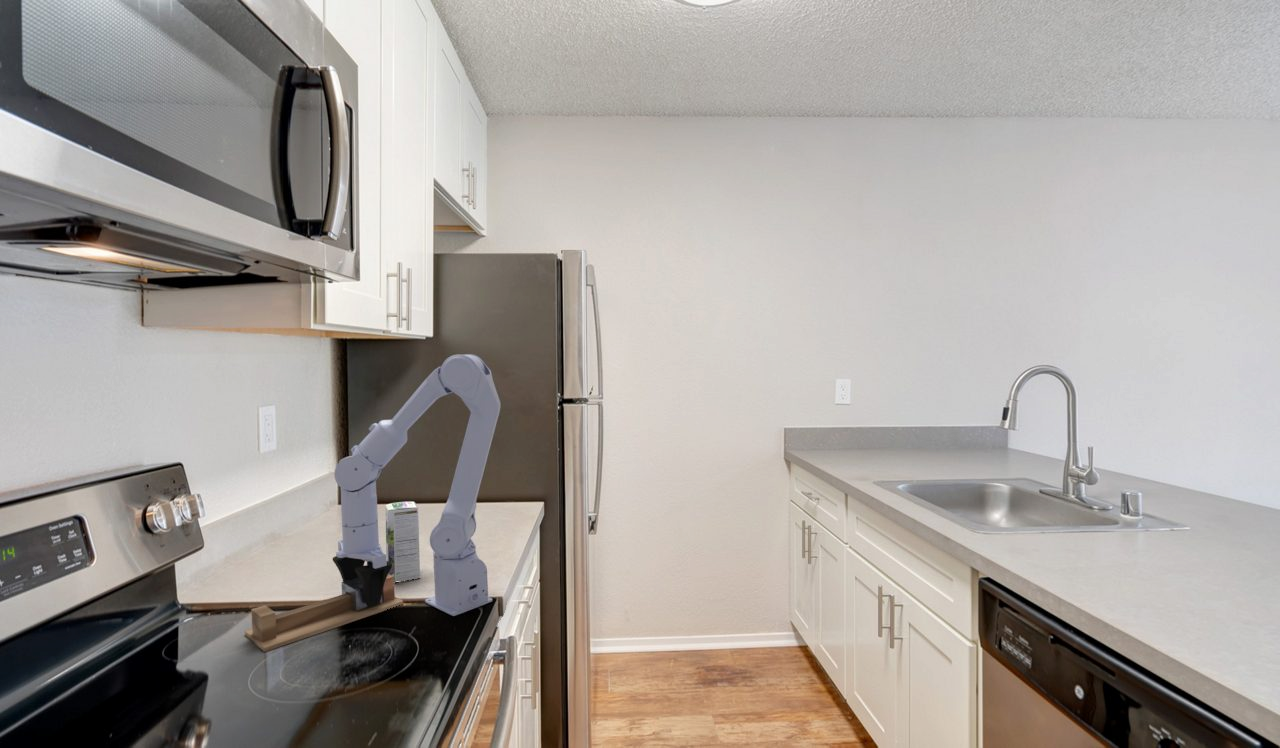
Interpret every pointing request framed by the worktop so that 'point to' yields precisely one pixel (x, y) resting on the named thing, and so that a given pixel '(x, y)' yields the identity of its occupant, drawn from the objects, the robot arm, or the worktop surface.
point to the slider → (355, 593)
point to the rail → (312, 618)
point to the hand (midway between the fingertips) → (363, 599)
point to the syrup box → (403, 540)
